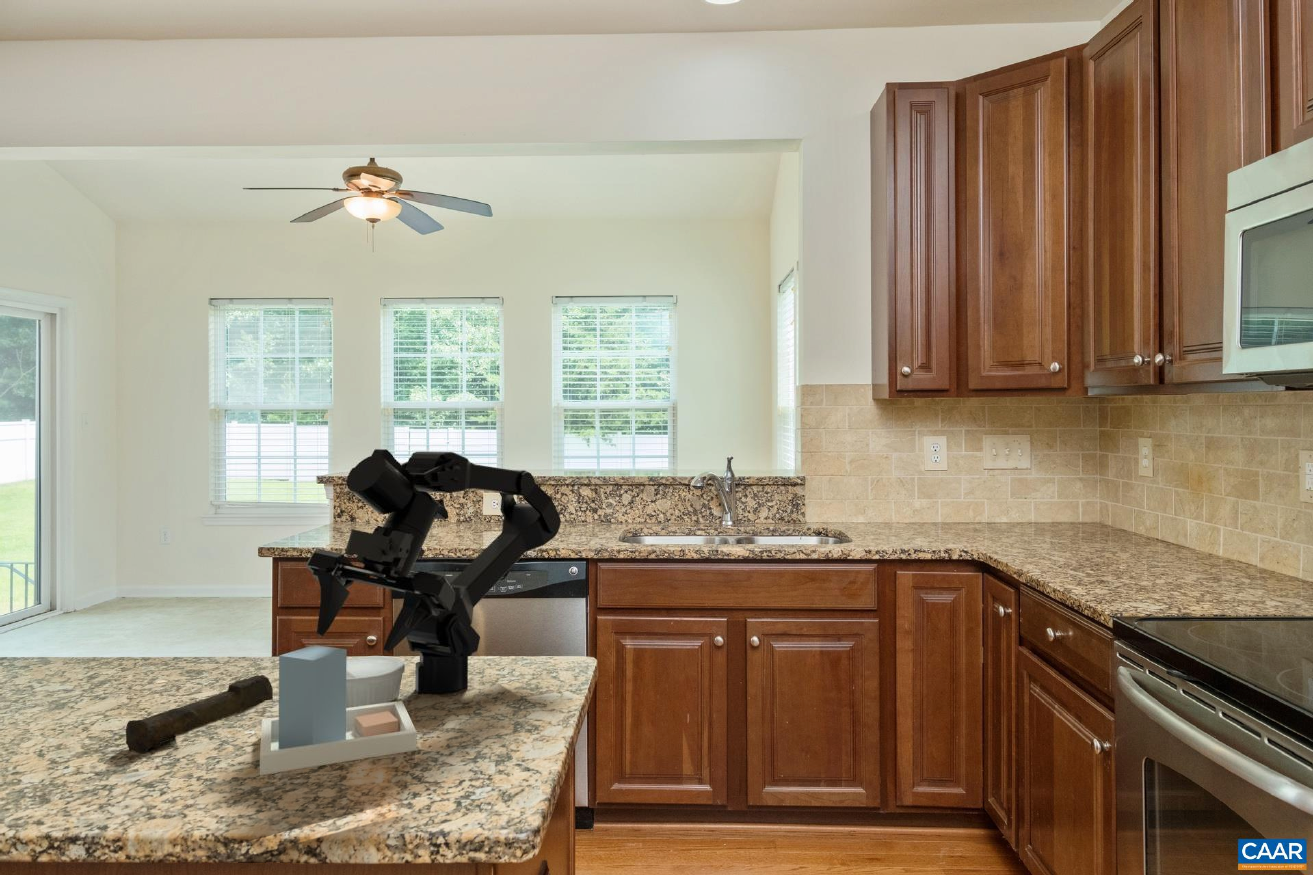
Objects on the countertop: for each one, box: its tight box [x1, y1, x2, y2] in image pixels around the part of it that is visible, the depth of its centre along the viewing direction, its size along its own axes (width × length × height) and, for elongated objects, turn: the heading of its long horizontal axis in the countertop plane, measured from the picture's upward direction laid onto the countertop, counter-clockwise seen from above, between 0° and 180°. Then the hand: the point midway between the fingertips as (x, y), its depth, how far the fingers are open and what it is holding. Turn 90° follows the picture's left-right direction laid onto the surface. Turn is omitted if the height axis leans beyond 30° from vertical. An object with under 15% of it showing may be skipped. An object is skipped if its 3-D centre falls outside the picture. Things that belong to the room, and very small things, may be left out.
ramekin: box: [346, 655, 406, 708], centre depth 108 cm, size 11×11×5 cm
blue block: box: [278, 644, 348, 750], centre depth 90 cm, size 5×5×11 cm
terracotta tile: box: [355, 711, 398, 737], centre depth 96 cm, size 4×4×2 cm
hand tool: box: [125, 674, 274, 754], centre depth 100 cm, size 19×4×5 cm, turn 154°
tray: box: [259, 700, 418, 776], centre depth 92 cm, size 16×12×3 cm
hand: (352, 643), depth 97 cm, fingers open, 9 cm apart
